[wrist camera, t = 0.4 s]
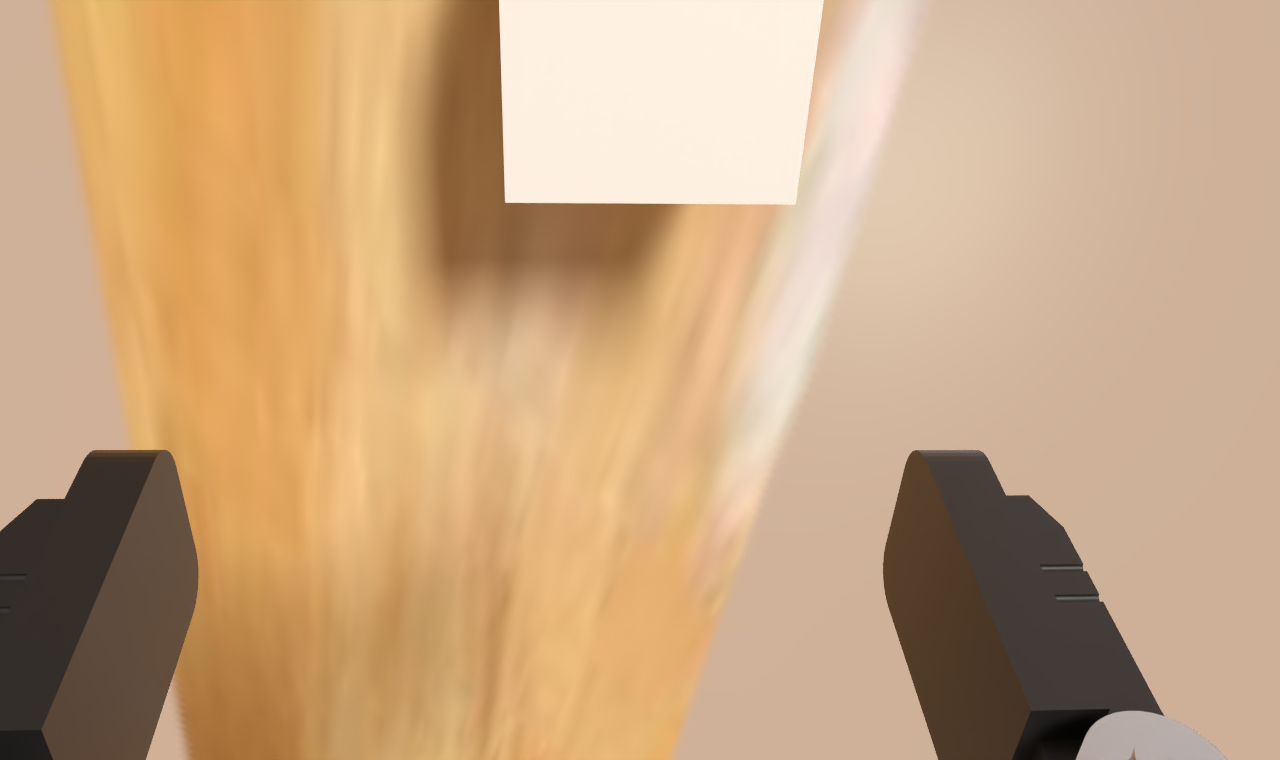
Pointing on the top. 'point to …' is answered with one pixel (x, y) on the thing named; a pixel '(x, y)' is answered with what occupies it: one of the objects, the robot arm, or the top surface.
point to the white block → (656, 99)
